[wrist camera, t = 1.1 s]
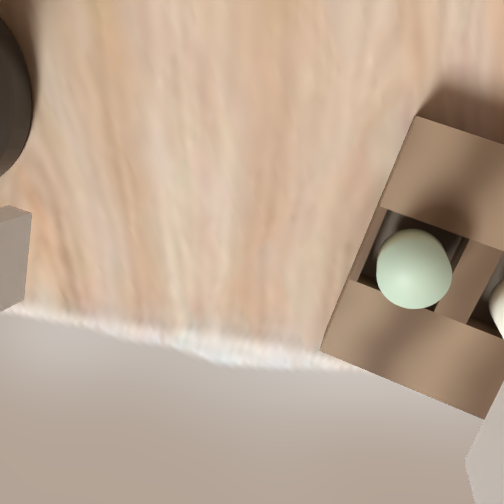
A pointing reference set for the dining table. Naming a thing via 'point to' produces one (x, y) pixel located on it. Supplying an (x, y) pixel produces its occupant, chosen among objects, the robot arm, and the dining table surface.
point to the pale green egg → (413, 269)
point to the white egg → (498, 306)
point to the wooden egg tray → (462, 263)
